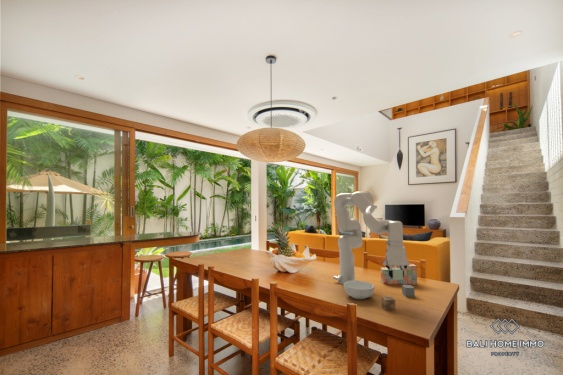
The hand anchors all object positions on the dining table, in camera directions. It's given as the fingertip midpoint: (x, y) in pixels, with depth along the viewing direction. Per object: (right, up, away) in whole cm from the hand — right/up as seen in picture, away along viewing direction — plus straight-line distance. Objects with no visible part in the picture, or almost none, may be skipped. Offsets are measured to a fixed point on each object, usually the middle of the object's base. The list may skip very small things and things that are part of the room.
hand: (396, 277), depth 145 cm
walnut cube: (-8, -13, -10) cm, 18 cm away
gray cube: (+11, -13, +9) cm, 19 cm away
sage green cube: (0, -1, 0) cm, 1 cm away
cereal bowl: (-18, -14, +7) cm, 24 cm away
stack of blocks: (+15, -15, +32) cm, 38 cm away
